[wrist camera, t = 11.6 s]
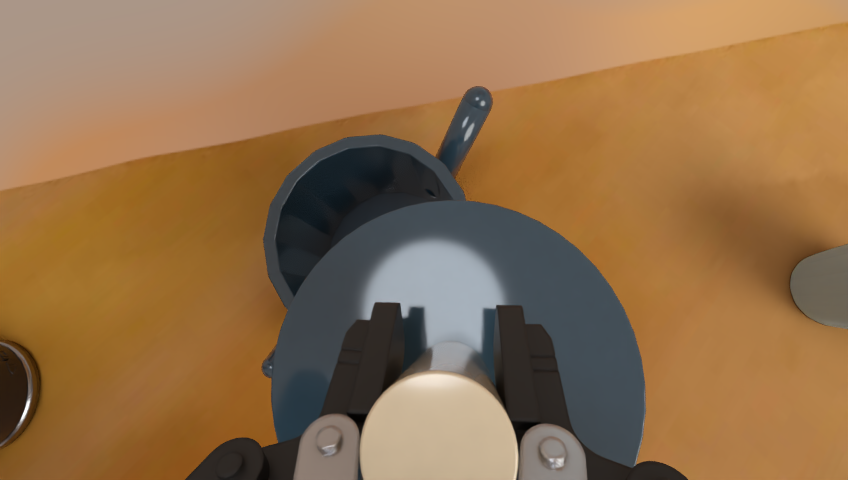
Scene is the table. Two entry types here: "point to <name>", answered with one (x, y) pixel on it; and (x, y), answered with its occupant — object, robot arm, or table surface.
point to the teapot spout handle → (447, 149)
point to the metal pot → (345, 200)
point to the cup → (823, 286)
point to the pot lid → (460, 340)
